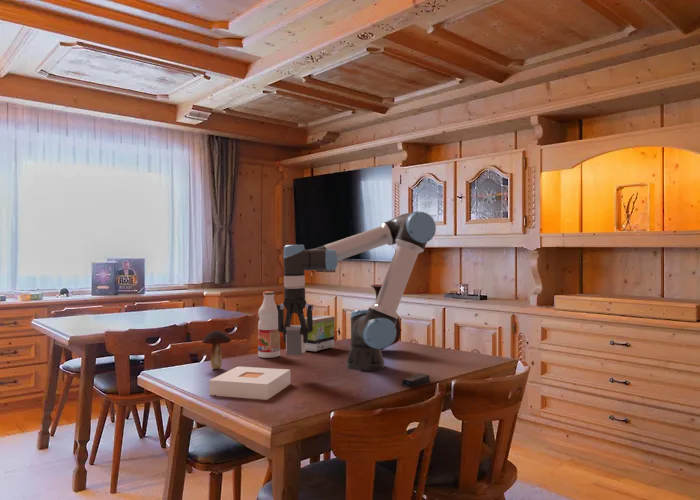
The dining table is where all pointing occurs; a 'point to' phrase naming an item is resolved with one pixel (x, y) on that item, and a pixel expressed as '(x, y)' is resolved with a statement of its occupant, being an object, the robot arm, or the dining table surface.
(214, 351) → the decorative mushroom
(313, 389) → the dining table surface
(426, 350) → the dining table surface
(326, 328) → the tea box
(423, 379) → the multiport hub
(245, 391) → the socket
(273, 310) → the fruit juice
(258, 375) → the shutter
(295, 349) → the plug
